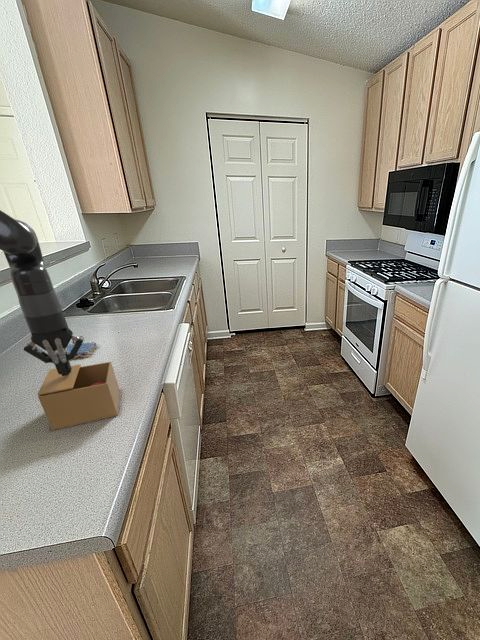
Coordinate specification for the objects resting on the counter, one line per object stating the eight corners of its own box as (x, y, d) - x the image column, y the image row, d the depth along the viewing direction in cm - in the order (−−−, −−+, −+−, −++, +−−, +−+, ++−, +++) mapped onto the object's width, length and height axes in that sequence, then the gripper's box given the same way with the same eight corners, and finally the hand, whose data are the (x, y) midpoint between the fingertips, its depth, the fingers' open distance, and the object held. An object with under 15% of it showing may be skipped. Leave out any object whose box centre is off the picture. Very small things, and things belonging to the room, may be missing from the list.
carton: (52, 430, 84) (37, 397, 79) (62, 402, 95) (50, 372, 90) (117, 415, 89) (107, 383, 84) (119, 390, 100) (111, 361, 96)
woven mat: (57, 360, 120) (55, 355, 119) (69, 348, 129) (67, 343, 128) (89, 357, 121) (87, 352, 120) (98, 345, 131) (97, 341, 130)
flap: (37, 395, 79) (37, 394, 79) (50, 370, 90) (49, 369, 90) (72, 388, 82) (72, 387, 81) (80, 365, 93) (80, 364, 93)
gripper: (3, 319, 73) (32, 386, 81) (72, 311, 78) (93, 375, 86) (13, 309, 79) (39, 373, 87) (77, 303, 84) (96, 363, 92)
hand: (66, 374), depth 86 cm, fingers closed
